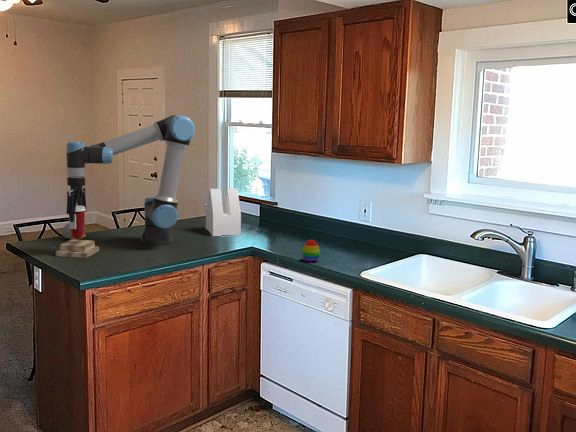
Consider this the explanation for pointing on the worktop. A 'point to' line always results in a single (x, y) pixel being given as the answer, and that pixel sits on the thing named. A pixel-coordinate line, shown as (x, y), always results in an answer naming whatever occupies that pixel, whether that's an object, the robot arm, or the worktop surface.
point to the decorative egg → (311, 251)
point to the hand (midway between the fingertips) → (77, 226)
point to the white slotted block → (223, 213)
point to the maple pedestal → (77, 248)
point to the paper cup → (79, 223)
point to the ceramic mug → (67, 232)
